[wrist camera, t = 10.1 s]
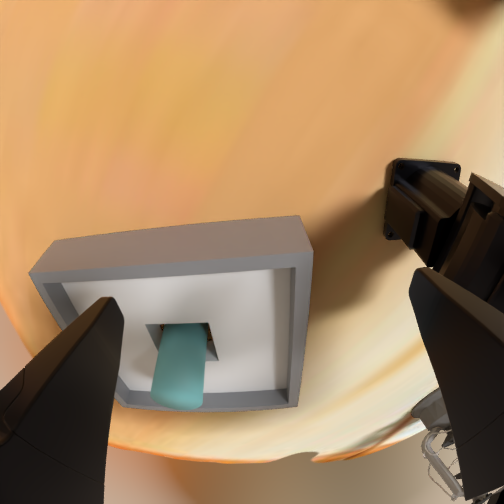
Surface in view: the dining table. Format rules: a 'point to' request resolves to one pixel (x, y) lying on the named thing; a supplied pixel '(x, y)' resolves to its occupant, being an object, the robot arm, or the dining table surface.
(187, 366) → the peg
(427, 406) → the lantern
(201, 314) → the box
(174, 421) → the dining table surface
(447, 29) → the dining table surface
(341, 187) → the dining table surface
